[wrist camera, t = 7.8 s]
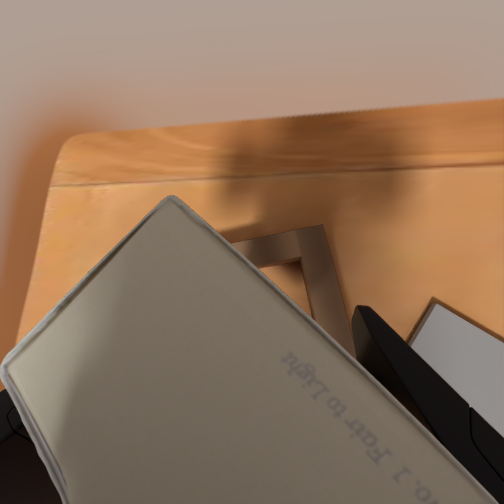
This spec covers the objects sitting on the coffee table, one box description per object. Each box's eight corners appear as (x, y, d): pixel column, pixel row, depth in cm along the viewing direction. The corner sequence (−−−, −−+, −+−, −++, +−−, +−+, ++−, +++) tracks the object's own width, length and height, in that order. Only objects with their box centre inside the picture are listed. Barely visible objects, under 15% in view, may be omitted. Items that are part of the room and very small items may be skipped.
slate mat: (516, 543, 15) (525, 553, 15) (360, 422, 18) (363, 426, 17) (591, 397, 16) (602, 401, 16) (432, 303, 19) (436, 303, 18)
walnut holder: (225, 399, 20) (216, 413, 18) (206, 255, 23) (197, 250, 21) (356, 382, 19) (367, 395, 16) (318, 232, 22) (322, 224, 19)
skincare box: (326, 333, 14) (568, 542, 2) (280, 384, 14) (258, 930, 2) (257, 267, 15) (173, 175, 4) (214, 312, 15) (-23, 371, 3)
